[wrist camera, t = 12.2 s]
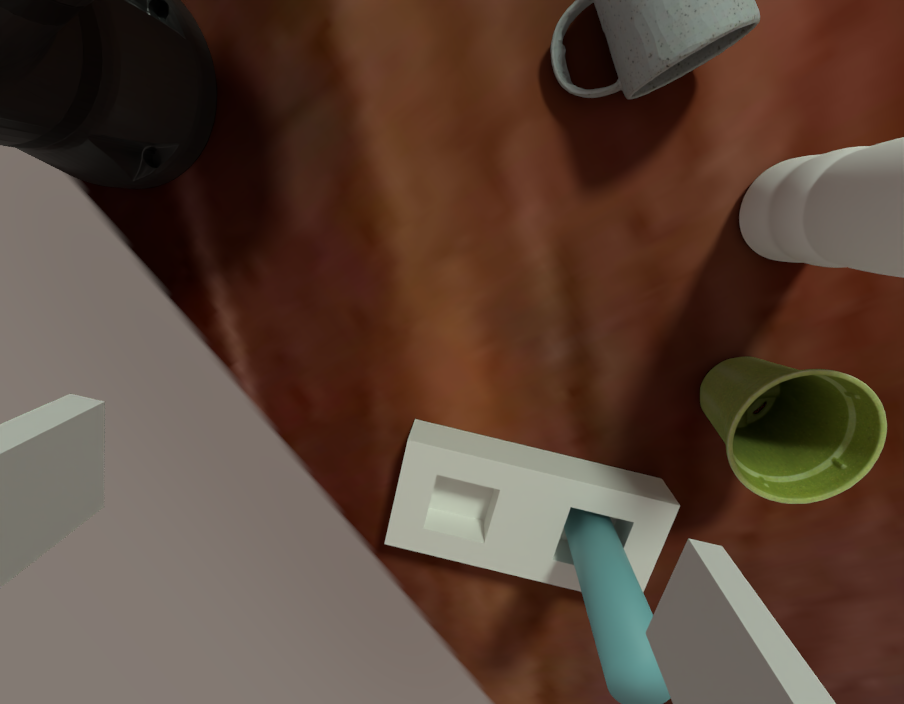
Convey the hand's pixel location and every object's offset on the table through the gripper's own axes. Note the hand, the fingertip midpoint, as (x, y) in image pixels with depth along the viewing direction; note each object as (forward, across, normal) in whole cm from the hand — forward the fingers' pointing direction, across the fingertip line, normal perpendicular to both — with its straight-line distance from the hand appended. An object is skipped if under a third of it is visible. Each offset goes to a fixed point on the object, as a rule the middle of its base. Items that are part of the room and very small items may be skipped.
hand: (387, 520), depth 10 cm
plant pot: (+28, +24, -2) cm, 37 cm away
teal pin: (+27, +16, -16) cm, 35 cm away
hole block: (+28, +10, -16) cm, 34 cm away
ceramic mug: (+29, +8, +20) cm, 36 cm away
